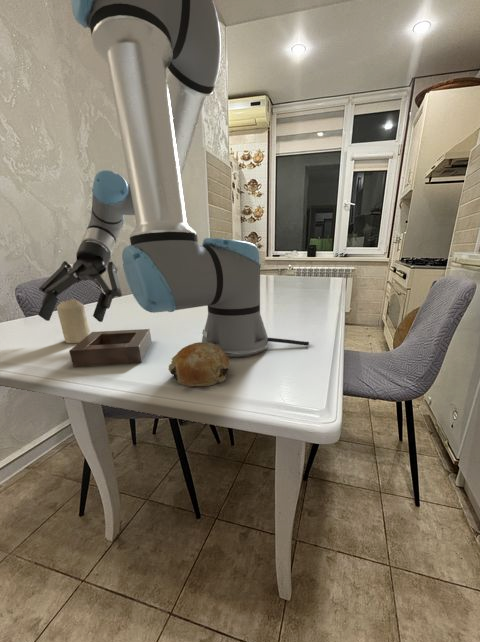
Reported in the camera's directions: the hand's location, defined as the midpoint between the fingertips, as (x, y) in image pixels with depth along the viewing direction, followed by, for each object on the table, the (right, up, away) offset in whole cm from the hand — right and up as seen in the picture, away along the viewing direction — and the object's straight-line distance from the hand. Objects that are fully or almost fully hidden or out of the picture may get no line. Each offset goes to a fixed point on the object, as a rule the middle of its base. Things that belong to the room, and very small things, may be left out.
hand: (70, 318), depth 69 cm
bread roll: (+35, -12, -17) cm, 40 cm away
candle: (0, -5, +3) cm, 6 cm away
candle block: (+14, -8, -6) cm, 18 cm away
